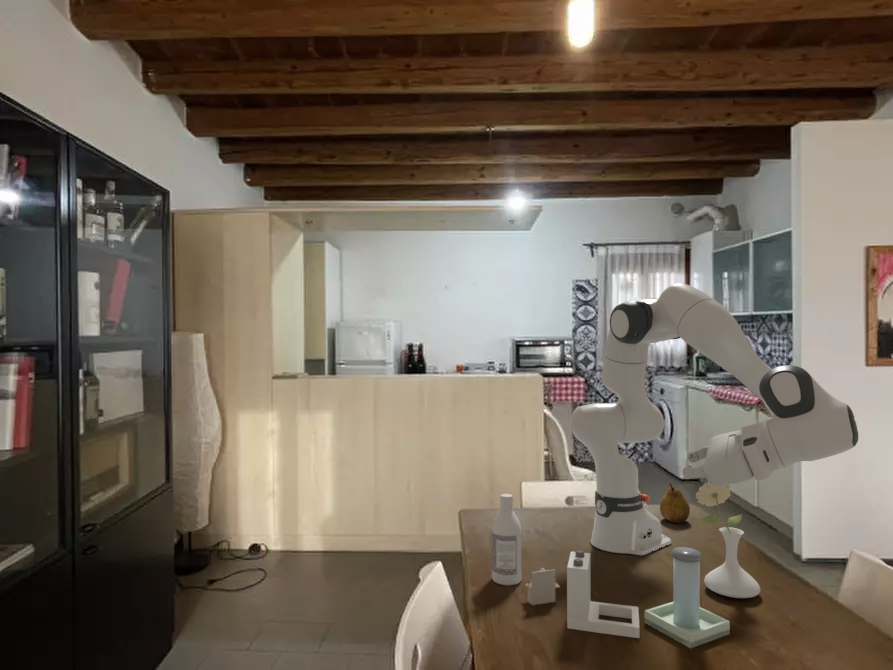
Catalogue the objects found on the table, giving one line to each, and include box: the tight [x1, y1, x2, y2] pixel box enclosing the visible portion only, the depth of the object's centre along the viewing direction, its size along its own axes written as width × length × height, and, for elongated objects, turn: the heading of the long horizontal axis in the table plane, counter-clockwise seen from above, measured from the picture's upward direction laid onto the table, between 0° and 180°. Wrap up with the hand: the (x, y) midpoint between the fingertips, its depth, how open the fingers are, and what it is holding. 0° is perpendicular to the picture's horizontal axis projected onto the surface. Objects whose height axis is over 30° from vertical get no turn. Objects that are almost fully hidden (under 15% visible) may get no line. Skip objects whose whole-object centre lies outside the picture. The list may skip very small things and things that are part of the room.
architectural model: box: [525, 567, 561, 606], centre depth 128 cm, size 3×7×7 cm, turn 106°
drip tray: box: [644, 601, 731, 649], centre depth 116 cm, size 11×11×2 cm
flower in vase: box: [695, 481, 761, 599], centre depth 132 cm, size 13×11×25 cm
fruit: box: [659, 483, 691, 524], centre depth 183 cm, size 9×9×12 cm
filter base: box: [566, 549, 640, 639], centre depth 118 cm, size 14×9×13 cm, turn 73°
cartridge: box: [671, 546, 702, 629], centre depth 116 cm, size 5×5×14 cm
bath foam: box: [491, 493, 523, 586], centre depth 139 cm, size 7×7×20 cm
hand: (686, 465), depth 118 cm, fingers open, 8 cm apart
